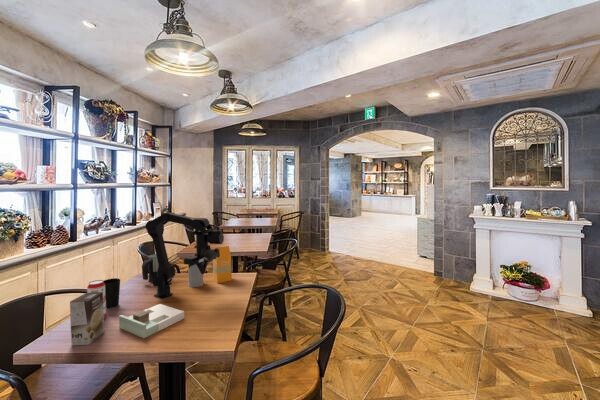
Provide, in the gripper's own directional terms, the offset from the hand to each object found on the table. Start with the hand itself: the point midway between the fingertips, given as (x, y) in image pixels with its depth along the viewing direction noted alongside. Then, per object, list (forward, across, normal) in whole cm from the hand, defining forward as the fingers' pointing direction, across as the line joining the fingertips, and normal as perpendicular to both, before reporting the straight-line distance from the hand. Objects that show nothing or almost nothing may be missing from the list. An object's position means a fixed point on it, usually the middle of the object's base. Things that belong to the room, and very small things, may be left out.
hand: (202, 274), depth 145 cm
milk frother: (+12, +5, +40) cm, 42 cm away
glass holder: (+12, +13, +20) cm, 27 cm away
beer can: (+12, -38, +22) cm, 46 cm away
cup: (+12, -28, +30) cm, 43 cm away
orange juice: (+12, +24, +10) cm, 29 cm away
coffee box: (+12, -48, +8) cm, 50 cm away
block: (+9, -34, -2) cm, 35 cm away
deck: (+12, -29, -2) cm, 31 cm away
